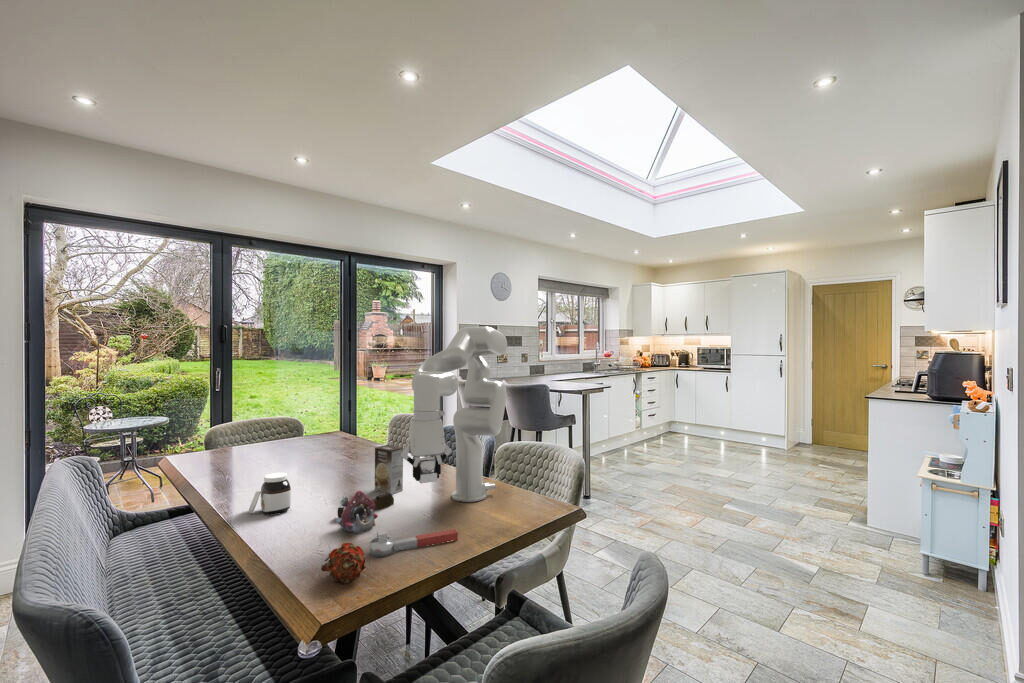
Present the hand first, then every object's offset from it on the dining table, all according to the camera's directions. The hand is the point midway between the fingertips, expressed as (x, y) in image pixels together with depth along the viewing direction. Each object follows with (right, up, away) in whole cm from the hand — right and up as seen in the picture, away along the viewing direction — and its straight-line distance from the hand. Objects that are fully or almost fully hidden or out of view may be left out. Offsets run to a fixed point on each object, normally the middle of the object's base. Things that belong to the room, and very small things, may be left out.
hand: (426, 477), depth 131 cm
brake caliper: (-21, -16, +2) cm, 26 cm away
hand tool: (-22, -16, +15) cm, 31 cm away
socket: (0, -1, 0) cm, 1 cm away
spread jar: (-54, -16, +15) cm, 58 cm away
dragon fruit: (-14, -15, -27) cm, 34 cm away
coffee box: (-21, -16, +36) cm, 45 cm away
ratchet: (-1, -15, -11) cm, 19 cm away
